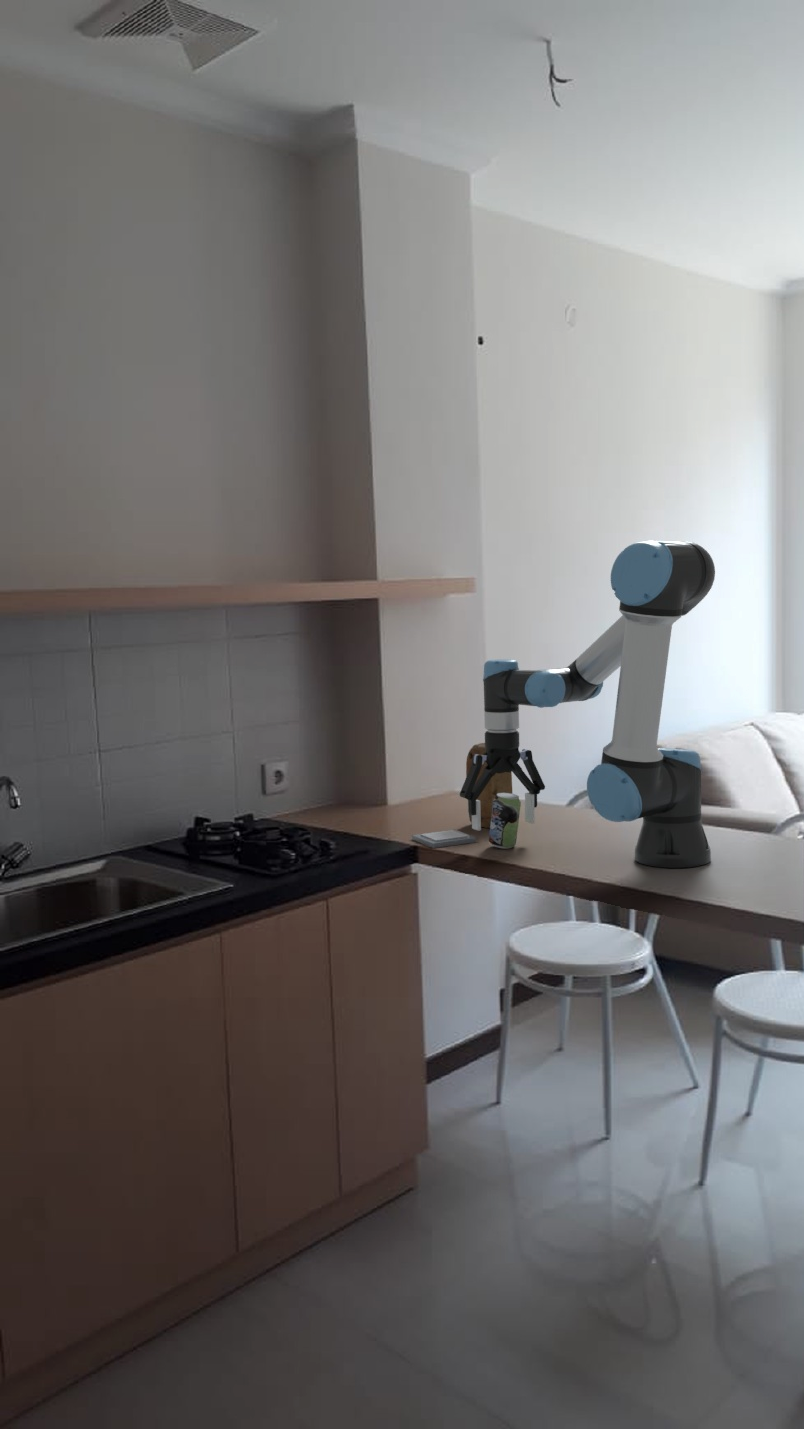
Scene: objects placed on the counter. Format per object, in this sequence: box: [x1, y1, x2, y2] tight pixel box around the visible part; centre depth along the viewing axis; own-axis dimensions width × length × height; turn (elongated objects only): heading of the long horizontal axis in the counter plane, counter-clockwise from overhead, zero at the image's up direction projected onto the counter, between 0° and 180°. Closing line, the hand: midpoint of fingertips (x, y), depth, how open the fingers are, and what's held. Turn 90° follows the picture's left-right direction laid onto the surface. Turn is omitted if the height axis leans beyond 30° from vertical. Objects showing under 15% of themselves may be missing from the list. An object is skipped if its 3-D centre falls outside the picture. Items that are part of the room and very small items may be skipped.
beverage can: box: [488, 793, 522, 850], centre depth 249 cm, size 6×7×12 cm
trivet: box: [411, 829, 478, 849], centre depth 259 cm, size 11×11×1 cm
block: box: [465, 742, 513, 829], centre depth 273 cm, size 11×8×20 cm
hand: (503, 826), depth 249 cm, fingers open, 13 cm apart
